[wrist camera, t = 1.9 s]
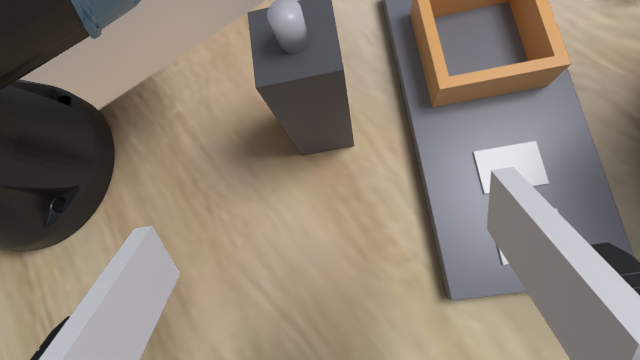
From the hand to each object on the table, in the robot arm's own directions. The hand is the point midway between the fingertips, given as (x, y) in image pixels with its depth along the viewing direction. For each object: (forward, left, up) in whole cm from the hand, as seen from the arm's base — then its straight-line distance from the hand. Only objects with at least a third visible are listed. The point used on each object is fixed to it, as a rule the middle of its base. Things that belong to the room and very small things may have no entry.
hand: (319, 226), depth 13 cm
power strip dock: (+13, +8, -14) cm, 20 cm away
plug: (0, +10, -14) cm, 17 cm away
